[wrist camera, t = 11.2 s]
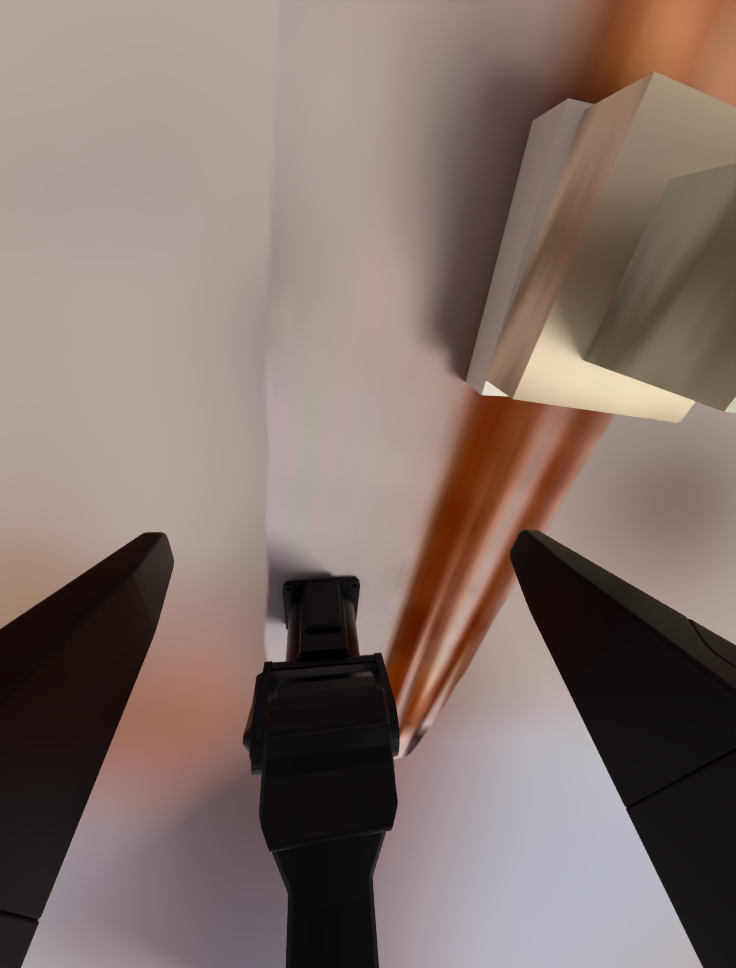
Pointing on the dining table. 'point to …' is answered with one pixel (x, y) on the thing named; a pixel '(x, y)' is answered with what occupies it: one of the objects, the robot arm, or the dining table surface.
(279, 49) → the dining table surface
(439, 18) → the dining table surface
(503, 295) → the bottom slab
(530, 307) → the top slab
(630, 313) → the sage cube
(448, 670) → the dining table surface
